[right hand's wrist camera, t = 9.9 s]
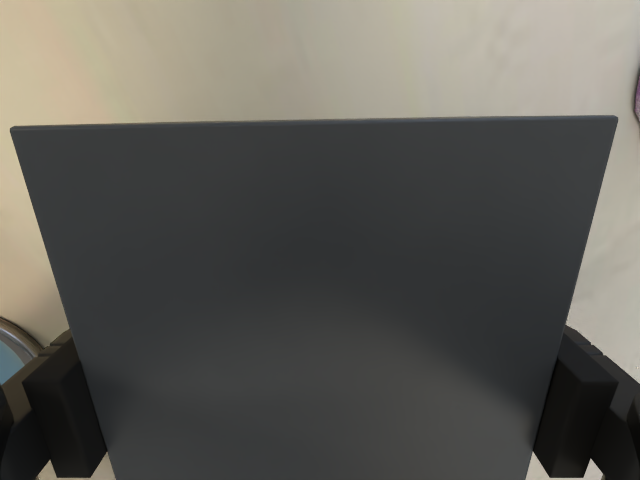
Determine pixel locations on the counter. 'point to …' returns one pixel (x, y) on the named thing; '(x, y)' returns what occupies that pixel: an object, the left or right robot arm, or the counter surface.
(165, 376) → the slab
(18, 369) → the left robot arm
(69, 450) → the right robot arm
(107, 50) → the counter surface
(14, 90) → the counter surface
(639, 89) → the figurine
